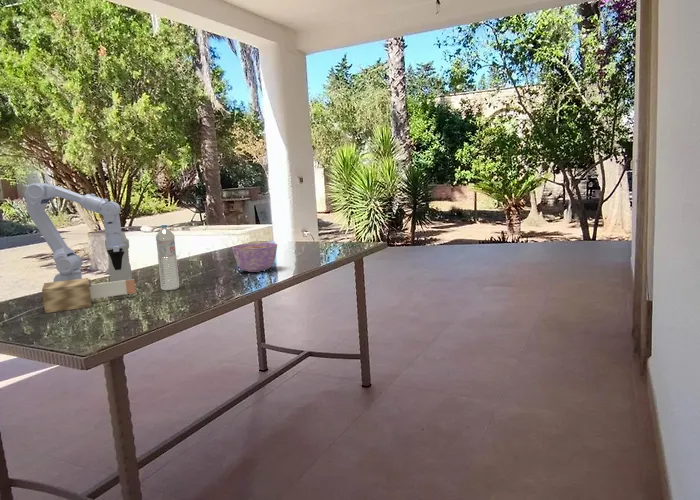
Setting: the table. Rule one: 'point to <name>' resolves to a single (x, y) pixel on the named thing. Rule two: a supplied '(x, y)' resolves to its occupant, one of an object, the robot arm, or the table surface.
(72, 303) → the ticket box
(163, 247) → the water bottle
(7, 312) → the table surface
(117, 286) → the ticket
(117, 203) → the robot arm
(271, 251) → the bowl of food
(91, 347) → the table surface
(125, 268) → the tall pale column
